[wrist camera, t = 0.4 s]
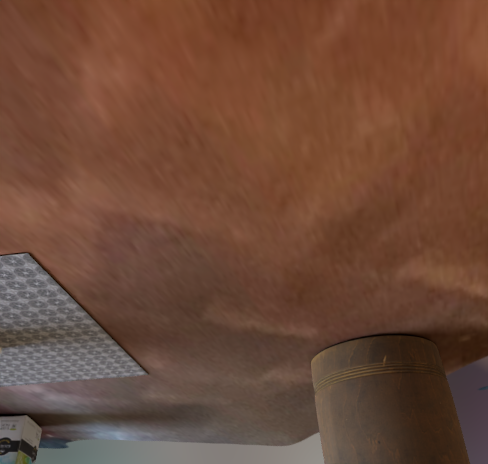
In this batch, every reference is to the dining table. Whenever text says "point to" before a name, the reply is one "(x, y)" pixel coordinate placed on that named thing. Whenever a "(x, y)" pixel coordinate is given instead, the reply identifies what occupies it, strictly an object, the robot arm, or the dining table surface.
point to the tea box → (18, 440)
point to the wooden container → (386, 403)
